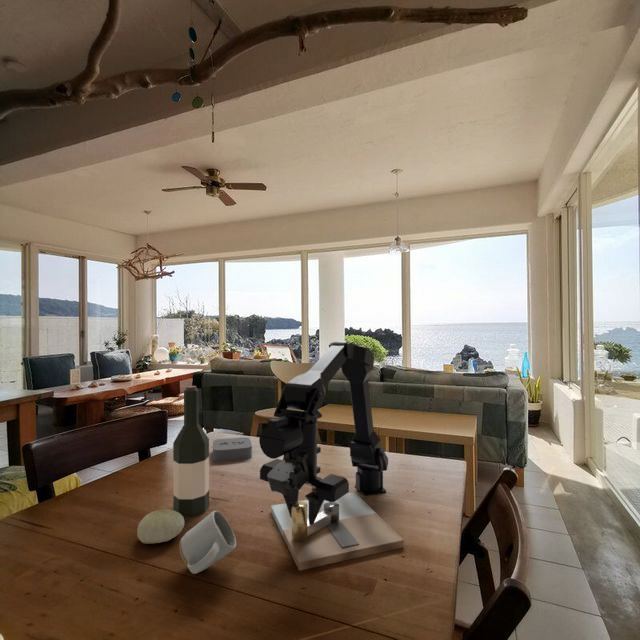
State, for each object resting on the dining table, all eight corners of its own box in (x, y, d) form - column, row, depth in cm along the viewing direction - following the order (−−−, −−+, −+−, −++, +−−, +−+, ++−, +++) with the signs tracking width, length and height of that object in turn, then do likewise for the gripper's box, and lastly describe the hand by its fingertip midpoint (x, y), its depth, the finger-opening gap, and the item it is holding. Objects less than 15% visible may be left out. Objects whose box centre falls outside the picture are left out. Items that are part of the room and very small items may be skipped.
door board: (354, 497, 102) (354, 491, 102) (403, 547, 80) (403, 538, 80) (270, 511, 95) (270, 504, 95) (299, 570, 72) (299, 561, 72)
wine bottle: (216, 505, 99) (215, 385, 99) (192, 520, 91) (192, 390, 91) (190, 499, 102) (190, 383, 102) (165, 513, 94) (165, 388, 95)
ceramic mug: (203, 570, 75) (185, 532, 78) (240, 544, 76) (222, 507, 79) (181, 585, 65) (162, 541, 68) (225, 555, 66) (204, 512, 69)
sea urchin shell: (171, 538, 78) (145, 508, 79) (148, 566, 79) (122, 536, 80) (195, 517, 87) (171, 490, 88) (174, 542, 88) (150, 515, 89)
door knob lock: (330, 513, 90) (330, 485, 90) (342, 518, 87) (342, 489, 87) (288, 537, 80) (287, 505, 80) (299, 543, 77) (299, 510, 78)
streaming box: (212, 464, 128) (212, 450, 128) (212, 452, 140) (212, 439, 140) (252, 461, 131) (252, 447, 131) (249, 449, 143) (249, 436, 143)
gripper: (240, 445, 78) (240, 523, 78) (317, 465, 68) (317, 556, 68) (277, 432, 87) (277, 502, 87) (350, 448, 77) (349, 528, 77)
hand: (302, 520), depth 80 cm, fingers open, 4 cm apart
